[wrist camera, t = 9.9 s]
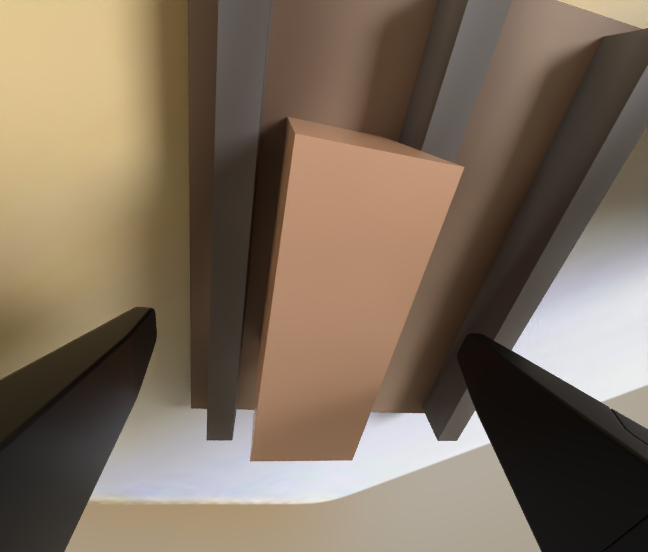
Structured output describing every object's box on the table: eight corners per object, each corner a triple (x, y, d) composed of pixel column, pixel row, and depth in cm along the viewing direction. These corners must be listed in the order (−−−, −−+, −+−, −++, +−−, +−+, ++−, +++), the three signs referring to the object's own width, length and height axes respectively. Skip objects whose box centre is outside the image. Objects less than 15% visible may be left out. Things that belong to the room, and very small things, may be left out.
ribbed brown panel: (642, 40, 12) (744, 24, 9) (448, 403, 21) (471, 446, 19) (194, -106, 9) (158, -192, 6) (194, 396, 18) (180, 446, 15)
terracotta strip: (382, 136, 12) (464, 167, 7) (328, 344, 16) (352, 460, 11) (287, 116, 11) (295, 133, 6) (259, 340, 16) (250, 461, 10)
